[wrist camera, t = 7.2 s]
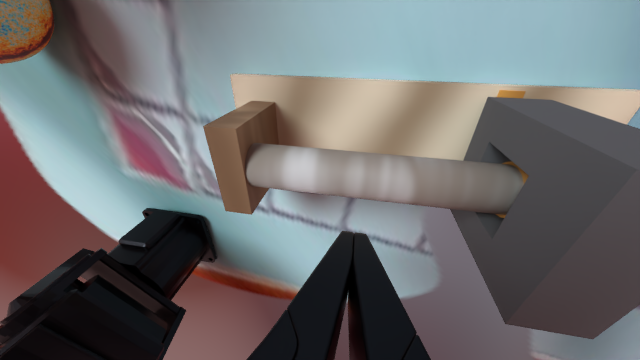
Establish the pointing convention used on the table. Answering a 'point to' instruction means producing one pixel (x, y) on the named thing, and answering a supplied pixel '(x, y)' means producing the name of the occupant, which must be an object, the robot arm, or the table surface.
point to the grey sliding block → (559, 217)
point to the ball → (24, 28)
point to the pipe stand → (375, 139)
